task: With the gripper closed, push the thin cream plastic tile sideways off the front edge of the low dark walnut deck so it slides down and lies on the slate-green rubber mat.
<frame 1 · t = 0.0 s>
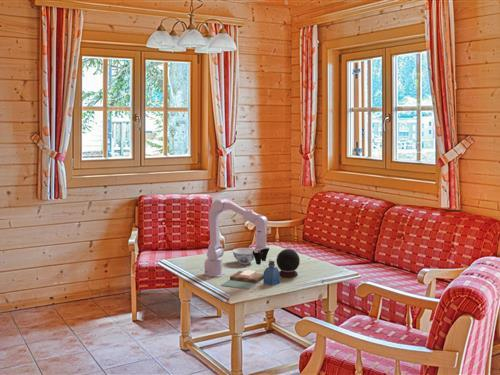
hand: (261, 262, 304), 10 cm above the table, tool pointing down, fingers open, 7 cm apart
chinaware: (244, 263, 341), on the table
tile: (247, 275, 308), point 2 cm above the table, touching deck
deck: (247, 278, 308), on the table
perfume bottle: (271, 283, 300), on the table
black ball on stand: (287, 275, 316), on the table
mat: (238, 284, 297), on the table
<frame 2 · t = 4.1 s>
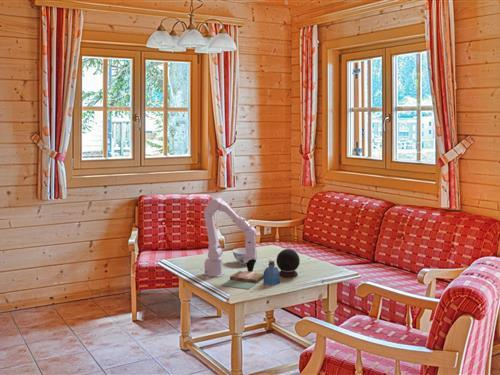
hand: (250, 272, 311), 3 cm above the table, tool pointing down, fingers closed
tile: (246, 276, 306), point 2 cm above the table, touching gripper
everything else where it was.
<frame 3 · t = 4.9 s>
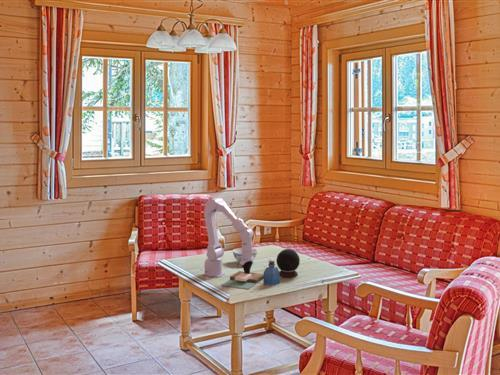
hand: (247, 274, 307), 3 cm above the table, tool pointing down, fingers closed
tile: (243, 278, 302), point 2 cm above the table, touching gripper
everything else where it was.
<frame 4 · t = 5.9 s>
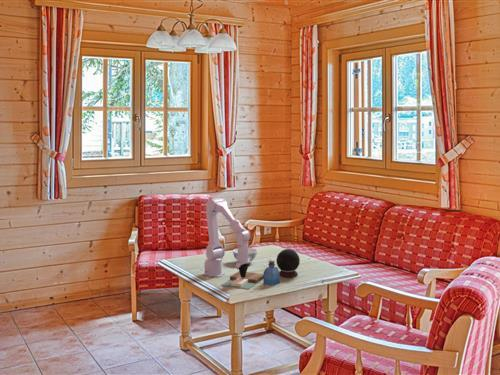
hand: (243, 277, 302), 3 cm above the table, tool pointing down, fingers closed
tile: (239, 283, 298), resting on mat
everything else where it was.
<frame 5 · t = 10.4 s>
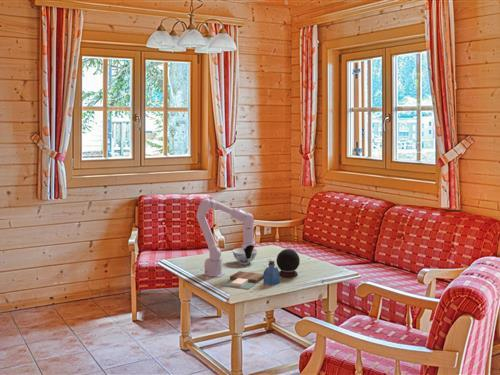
hand: (248, 258, 315), 9 cm above the table, tool pointing down, fingers closed
nothing on the table moved.
at the end: tile inside the target area (1.4 cm from its centre), resting on mat; tile touching mat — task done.
